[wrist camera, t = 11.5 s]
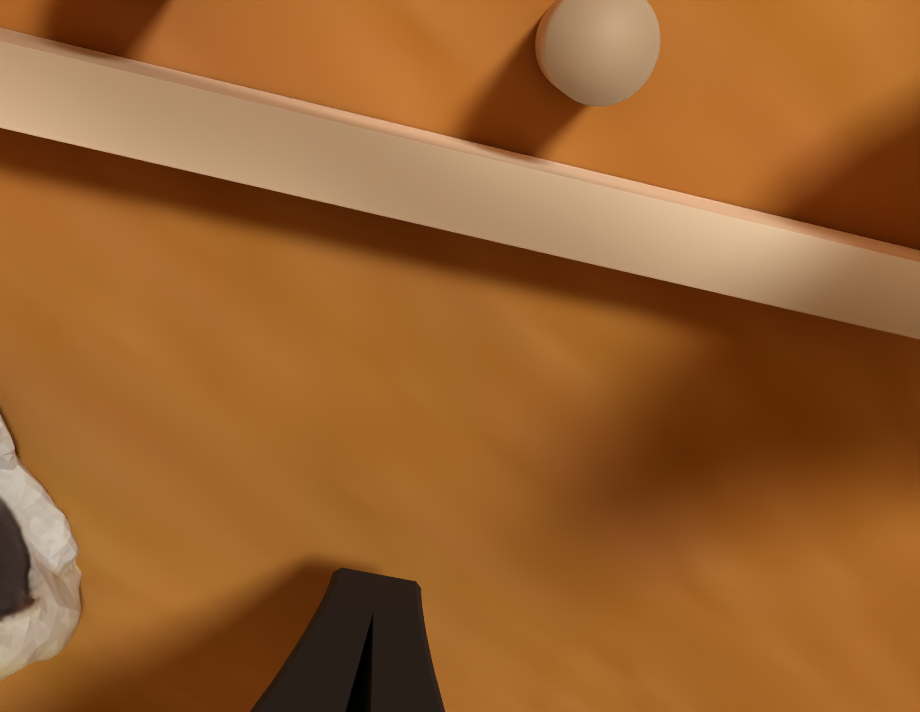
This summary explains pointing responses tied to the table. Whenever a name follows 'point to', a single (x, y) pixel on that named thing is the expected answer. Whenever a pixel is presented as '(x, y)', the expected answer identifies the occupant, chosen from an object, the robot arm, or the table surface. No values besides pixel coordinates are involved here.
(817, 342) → the table surface
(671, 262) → the lane
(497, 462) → the table surface
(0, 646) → the pastry
